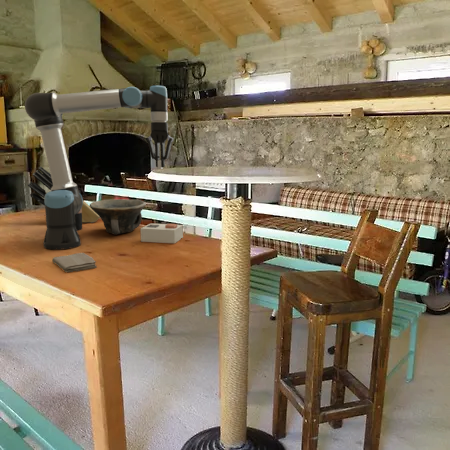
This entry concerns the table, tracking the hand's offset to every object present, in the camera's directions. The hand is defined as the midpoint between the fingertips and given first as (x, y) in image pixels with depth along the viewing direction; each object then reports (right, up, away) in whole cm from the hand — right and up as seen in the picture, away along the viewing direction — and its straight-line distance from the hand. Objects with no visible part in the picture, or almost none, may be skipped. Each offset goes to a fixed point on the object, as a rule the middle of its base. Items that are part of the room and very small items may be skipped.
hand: (160, 174), depth 206 cm
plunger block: (+1, -30, +1) cm, 30 cm away
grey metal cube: (-4, -28, +1) cm, 28 cm away
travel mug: (-47, -26, +22) cm, 58 cm away
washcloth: (-26, -39, -40) cm, 61 cm away
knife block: (-57, -22, +40) cm, 73 cm away
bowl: (-22, -27, +16) cm, 39 cm away
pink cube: (+5, -27, -1) cm, 28 cm away
